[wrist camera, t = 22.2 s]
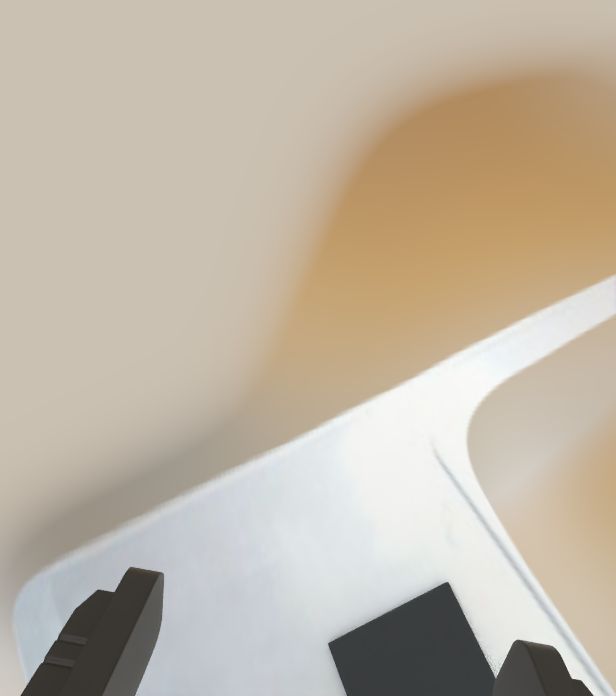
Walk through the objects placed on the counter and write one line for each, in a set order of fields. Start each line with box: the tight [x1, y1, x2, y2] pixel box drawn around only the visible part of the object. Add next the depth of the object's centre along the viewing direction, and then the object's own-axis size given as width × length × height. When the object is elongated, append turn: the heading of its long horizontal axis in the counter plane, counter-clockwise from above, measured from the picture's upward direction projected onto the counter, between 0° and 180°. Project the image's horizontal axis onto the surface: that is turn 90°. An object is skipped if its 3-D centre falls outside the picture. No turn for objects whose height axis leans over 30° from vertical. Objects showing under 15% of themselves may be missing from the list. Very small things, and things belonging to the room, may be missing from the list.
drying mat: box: [328, 582, 496, 696], centre depth 27 cm, size 9×7×1 cm
